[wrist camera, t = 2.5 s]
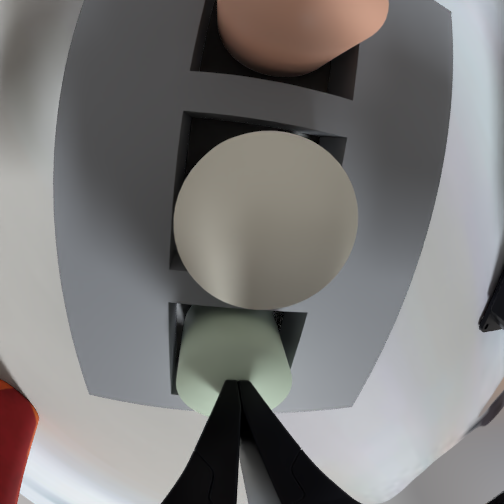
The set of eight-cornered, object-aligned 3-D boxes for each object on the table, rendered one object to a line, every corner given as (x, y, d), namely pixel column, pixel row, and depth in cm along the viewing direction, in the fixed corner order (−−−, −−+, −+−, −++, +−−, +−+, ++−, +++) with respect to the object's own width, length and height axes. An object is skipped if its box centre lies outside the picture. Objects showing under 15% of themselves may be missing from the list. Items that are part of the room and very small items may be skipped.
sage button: (283, 293, 12) (304, 347, 9) (266, 363, 13) (279, 419, 10) (185, 284, 11) (175, 340, 8) (183, 358, 13) (177, 416, 10)
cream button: (322, 146, 9) (374, 152, 6) (299, 258, 10) (333, 313, 7) (197, 127, 8) (184, 119, 5) (185, 247, 10) (170, 302, 6)
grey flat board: (417, 23, 8) (450, 11, 6) (337, 375, 15) (351, 406, 13) (127, -32, 6) (111, -60, 4) (102, 360, 13) (89, 394, 11)
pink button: (341, -3, 7) (387, -45, 3) (330, 89, 8) (385, 70, 5) (228, -27, 6) (234, -85, 3) (207, 67, 8) (200, 28, 4)
